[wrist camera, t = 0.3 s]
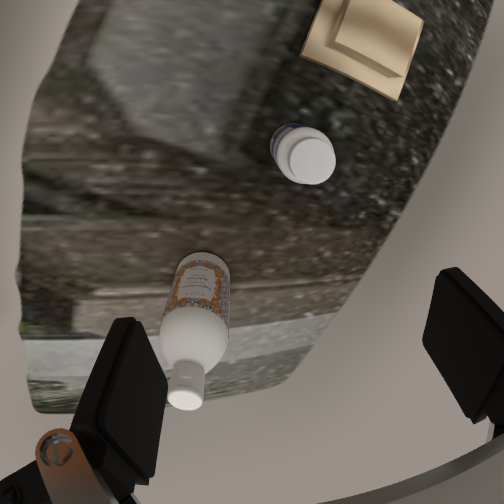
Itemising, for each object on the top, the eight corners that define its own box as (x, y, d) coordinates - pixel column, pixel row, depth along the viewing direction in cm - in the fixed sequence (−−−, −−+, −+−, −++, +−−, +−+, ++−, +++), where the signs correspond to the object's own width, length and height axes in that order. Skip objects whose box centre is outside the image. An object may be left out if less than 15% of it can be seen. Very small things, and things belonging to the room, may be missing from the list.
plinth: (331, -24, 24) (344, -39, 19) (418, 23, 26) (439, 16, 21) (299, 56, 29) (308, 49, 24) (391, 100, 31) (412, 102, 26)
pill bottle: (326, 142, 33) (356, 158, 25) (297, 177, 35) (317, 205, 27) (289, 112, 32) (308, 117, 23) (259, 150, 34) (268, 168, 25)
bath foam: (231, 251, 39) (229, 378, 21) (228, 297, 42) (226, 424, 25) (176, 248, 39) (136, 370, 21) (178, 294, 42) (150, 418, 24)
